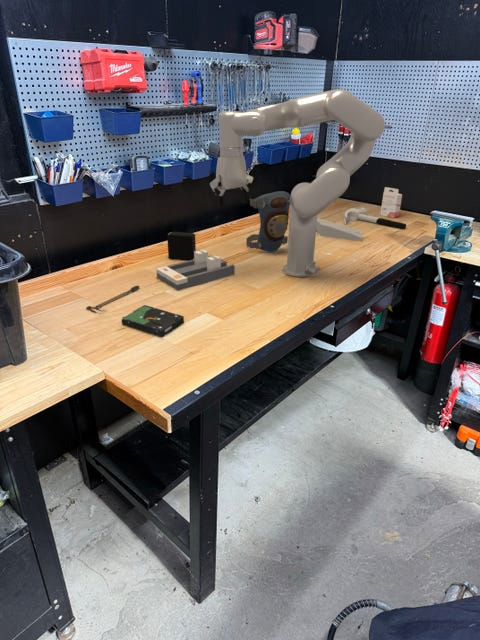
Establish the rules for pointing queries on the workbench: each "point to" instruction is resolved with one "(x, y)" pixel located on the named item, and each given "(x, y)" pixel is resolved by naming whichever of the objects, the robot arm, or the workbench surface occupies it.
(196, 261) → the tab far
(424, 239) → the workbench surface
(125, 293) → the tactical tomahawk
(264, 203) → the knee pad
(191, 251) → the electronic device
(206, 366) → the workbench surface
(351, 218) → the claw hammer
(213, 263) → the tab near
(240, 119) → the robot arm
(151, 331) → the disk drive
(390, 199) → the ink cartridge box
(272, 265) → the workbench surface
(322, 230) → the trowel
